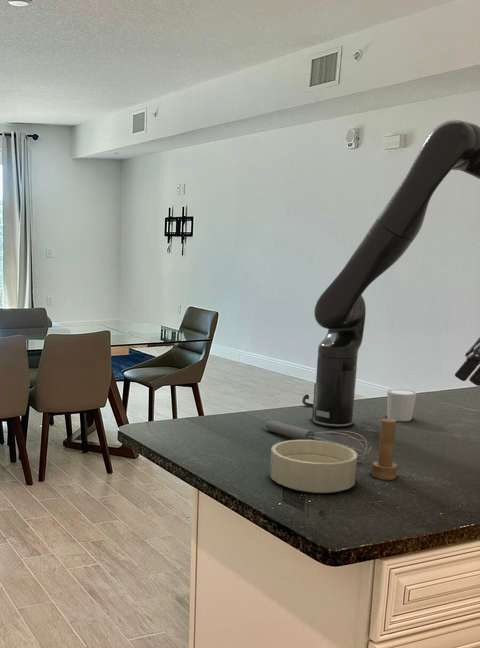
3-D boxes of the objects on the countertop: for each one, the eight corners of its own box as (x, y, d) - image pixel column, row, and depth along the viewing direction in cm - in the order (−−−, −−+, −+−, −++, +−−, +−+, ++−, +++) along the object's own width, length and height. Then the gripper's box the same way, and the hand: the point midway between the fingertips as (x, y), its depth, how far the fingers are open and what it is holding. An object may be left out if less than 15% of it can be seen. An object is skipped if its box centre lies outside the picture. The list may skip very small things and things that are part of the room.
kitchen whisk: (273, 426, 174) (274, 402, 173) (377, 467, 144) (379, 437, 142) (252, 429, 172) (254, 404, 170) (353, 471, 142) (356, 441, 140)
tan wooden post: (367, 473, 140) (371, 418, 137) (386, 471, 141) (391, 416, 138) (380, 480, 136) (386, 423, 133) (400, 478, 137) (406, 422, 134)
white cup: (418, 421, 177) (421, 394, 176) (391, 422, 177) (394, 394, 176) (406, 414, 184) (409, 388, 182) (380, 415, 184) (382, 389, 182)
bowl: (256, 471, 142) (257, 442, 141) (326, 465, 145) (328, 437, 144) (294, 498, 127) (296, 467, 126) (372, 491, 130) (374, 460, 129)
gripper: (493, 299, 139) (438, 366, 142) (523, 299, 125) (461, 373, 128) (526, 321, 138) (470, 388, 142) (559, 322, 124) (496, 397, 128)
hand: (466, 381), depth 135 cm, fingers open, 8 cm apart
